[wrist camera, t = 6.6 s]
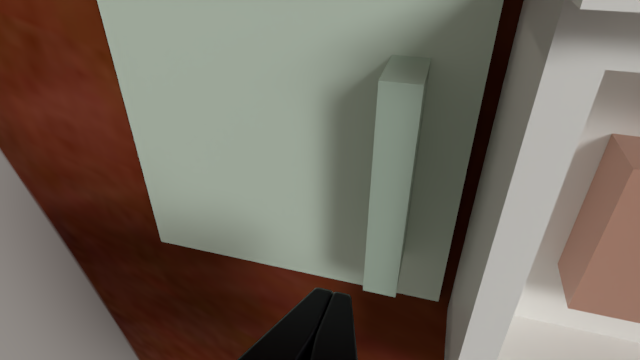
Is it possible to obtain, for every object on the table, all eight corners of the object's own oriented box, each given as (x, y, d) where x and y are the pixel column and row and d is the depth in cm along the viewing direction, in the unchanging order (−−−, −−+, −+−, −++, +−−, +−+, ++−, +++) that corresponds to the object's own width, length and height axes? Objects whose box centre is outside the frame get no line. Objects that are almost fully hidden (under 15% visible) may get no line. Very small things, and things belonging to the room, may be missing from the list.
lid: (439, 288, 19) (434, 348, 16) (170, 231, 22) (130, 275, 20) (506, -27, 12) (515, -7, 10) (103, -41, 15) (28, -29, 13)
